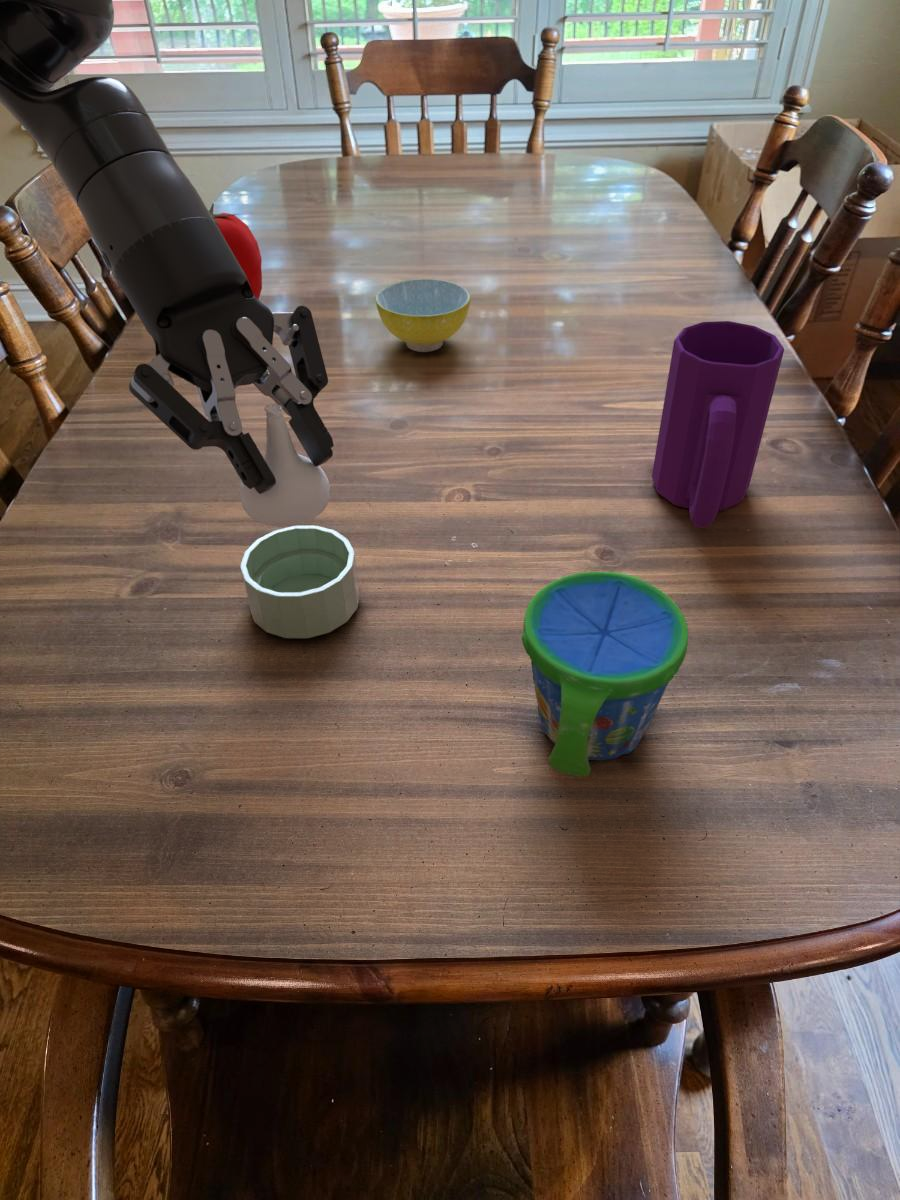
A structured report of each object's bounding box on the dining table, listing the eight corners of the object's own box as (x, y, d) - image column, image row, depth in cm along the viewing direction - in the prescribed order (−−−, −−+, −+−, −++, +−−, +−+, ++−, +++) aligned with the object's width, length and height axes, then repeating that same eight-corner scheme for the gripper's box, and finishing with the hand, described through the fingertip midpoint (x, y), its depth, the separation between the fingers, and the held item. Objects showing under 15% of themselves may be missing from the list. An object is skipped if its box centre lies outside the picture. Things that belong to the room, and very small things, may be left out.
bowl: (437, 317, 115) (436, 270, 111) (487, 349, 107) (488, 300, 103) (362, 339, 110) (358, 291, 106) (409, 374, 103) (407, 324, 99)
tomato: (236, 338, 111) (215, 232, 102) (164, 319, 116) (139, 216, 107) (291, 305, 118) (277, 203, 110) (222, 288, 123) (203, 190, 114)
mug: (746, 466, 87) (781, 323, 77) (751, 563, 76) (793, 410, 66) (653, 457, 89) (676, 315, 79) (644, 550, 77) (670, 399, 67)
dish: (293, 659, 68) (284, 612, 65) (230, 605, 73) (218, 559, 70) (381, 605, 73) (377, 559, 69) (316, 557, 77) (309, 511, 74)
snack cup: (627, 837, 56) (648, 735, 49) (479, 778, 59) (479, 675, 52) (692, 676, 66) (717, 574, 59) (562, 634, 70) (572, 533, 63)
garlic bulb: (247, 542, 60) (225, 443, 54) (241, 492, 64) (221, 395, 59) (337, 529, 61) (325, 429, 56) (325, 479, 65) (313, 383, 60)
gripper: (68, 246, 50) (221, 503, 52) (270, 189, 58) (400, 416, 59) (56, 307, 57) (193, 534, 59) (240, 249, 64) (357, 452, 66)
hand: (296, 473), depth 59 cm, fingers closed on garlic bulb, 4 cm apart
